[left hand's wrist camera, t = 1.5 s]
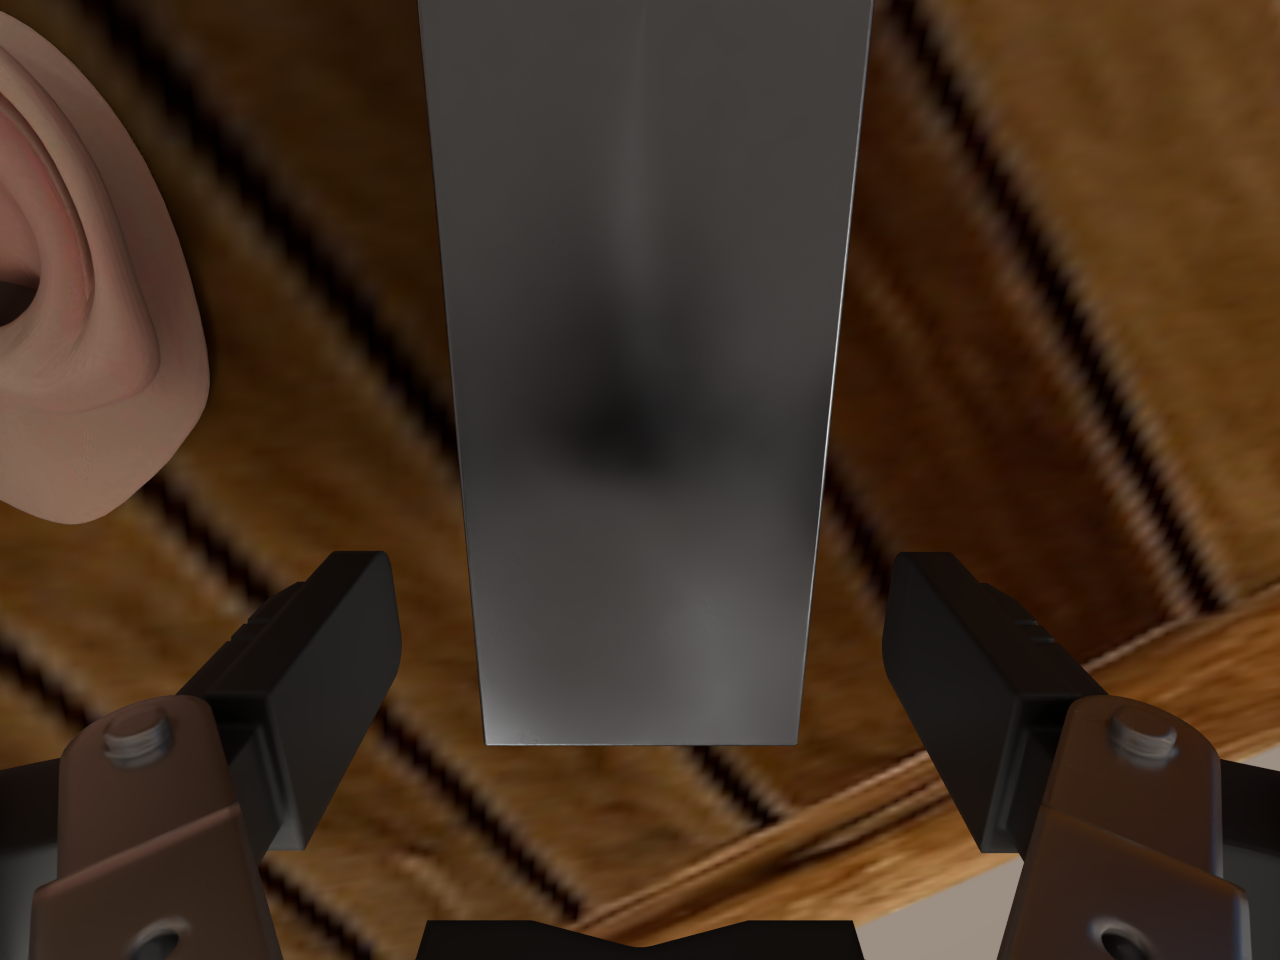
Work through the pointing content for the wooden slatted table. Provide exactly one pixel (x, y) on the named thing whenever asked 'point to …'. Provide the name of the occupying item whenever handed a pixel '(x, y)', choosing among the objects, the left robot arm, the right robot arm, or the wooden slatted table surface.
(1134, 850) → the left robot arm
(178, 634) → the wooden slatted table surface
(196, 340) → the anatomical model
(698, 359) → the box
